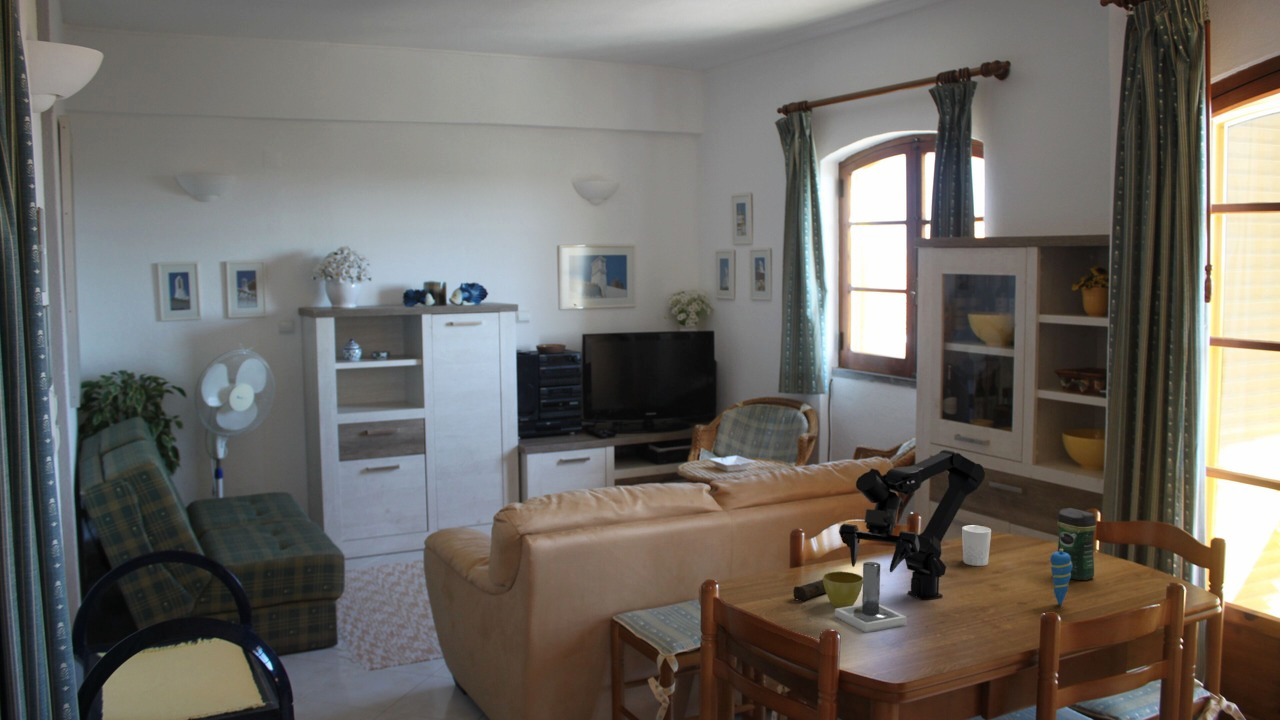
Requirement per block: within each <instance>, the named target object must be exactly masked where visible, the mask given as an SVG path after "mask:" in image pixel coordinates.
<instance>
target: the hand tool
mask: <svg viewBox="0 0 1280 720" xmlns="http://www.w3.org/2000/svg"><path fill="white" fill-rule="evenodd" d="M837 572H843V571H842V570H841V571H837ZM824 593H826V591H825V588H824V583H823V578H822V579H820V580H819V579H818V580H817V581H814V582H811V583H807V584H803V585H801V586H794V587H793V596H792V597H793V598H794V600H796V599H798V600H801V601H800V602H802V601H803V602H805V601H808V600H809V599H810V598H812V597H816V596H819V595H822V594H824ZM798 600H797V601H798Z"/></svg>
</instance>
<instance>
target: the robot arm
mask: <svg viewBox="0 0 1280 720" xmlns="http://www.w3.org/2000/svg"><path fill="white" fill-rule="evenodd" d="M944 472H947V473H948V475H947V484H948V485H947V486H948V487H947V488H946V490H945V492H944V494H943V496H942V498H941V499H940V501H939V503H938V504H937V507H936V509H935V510H934V512H933V514H932V516H931V517H930V519H929V521H928V523H927V524H926V527H924V530H923V531H922V532H921V533H919V534H917V533H916V532H912V531H905V530H900V531H899V533H898V535H894V534H893V532H894V528H896V524H897V523H896V521H897V516H898V512H899V508H904V507H906V506H905V503H904V500H903V499H902V497H901V496H899V495H898V494H901V495H905V496H910V495H912V494H914V493H915V492H916V491H918V490H919V489H920V488H921V486H922V483H924V482H925V481H927V480H929V479H931V478H933V477H936V476H937V475H938V476H939V475H940V474H942V473H944ZM985 475H986V472H985V470H984V467H983V466H982V464H980V463H976V462H974V461H972V460H970V459H968V458H967V457H965V456H963V455H962V454H960V453H959V451H953V450H948V449H943V450H941V451H940V452H939V453H937V454H934V455H932V456H931V457H928V458H926V459H924V460H921V461H918V462H917V463H915V464H912V465H910V466H899V467H894V468H890V469H889V470H887V472H886V473H885V474H882V473H881V472H880V470H879V469H875V468H870V470H869V471H867V472H864V473H863V474H861V476H859V477H858V478H857V480H856V483H855V486H856V489H857V491H859V492H860V494H862V495H863V496H864V497H865V498H866V499H867V501H869V502H870V503H871V504H874V508H873V509H868V508H867V509H865V514H864V521H863V523H865V527H866V529H867V530H868V531H861V530H860V529H859V527H858V524H852V523H851V524H849V523H842V524H841V525H840V527H839V530H838V533H839V534H838V535H839V536H840V539H841V541H842V543H843V544H845V545H846V546H847V547H848V548H849V549H850V551H849V552H850V560H851V561H850V562H851V566H852V567H853V568H854V567H855V565H856V563H857V559H858V554H859V552H860V551H859V550H860V546H859V544H860V542H861V540H863V541H871V542H872V541H873V542H877V543H878V542H879V543H885V544H894V545H895V549H894V552H893V556H892V559H891V562H890V565H889V572H890V573H893V572H894V570H896V569H897V567H898V566H899V565H900V563H901V562H903V561H904V560H905V565H906V569H907V570H910V571H912V575H911V576H912V577H911V578H910V590H908V591H907V593H908V594H909V595H911V596H914V597H916V598H918V599H920V600H923V601H926V600H927V601H928V600H931V599H938V598H944V595H943V594H942V593H940V592H939V591H940V590H939V589H940V588H939V587H940V585H939V584H940V578H941V577H942V576H945V574H946V570H947V566H946V565H945V563H944V562H943V561H942V560H941V559H940V558H941V556H942V540H943V539H944V537H945V535H946V533H948V530H949V528H950V526H951V524H952V523H953V521H954V518H955V517H956V515H957V514H958V511H959V509H960V508H961V506H962V504H963V502H965V499H966V497H967V496H969V495H971V494H972V493H974V492H975V491H976V490H978V488H979V487H980V485H981V484H982V482H983V481H984V479H985Z"/></svg>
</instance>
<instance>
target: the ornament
mask: <svg viewBox="0 0 1280 720" xmlns="http://www.w3.org/2000/svg"><path fill="white" fill-rule="evenodd" d="M1050 563H1051V567H1050V570H1051V574H1052V583H1053V586H1054V587H1053V592H1054V595H1055V598H1056V602H1057V605H1059V606H1062V605H1063V603H1064V601H1065V600H1064V599H1065V597H1066V596H1067V593H1068V590H1069V587H1070V586H1069V583H1070V580H1071V579H1072V578H1071V573H1070V572H1071V570H1072V567H1073V566H1072V562H1071V557H1070V555H1069V554H1068V553H1065V552H1063V548H1062V549H1059V552H1058V551H1054V552H1052V554H1051V556H1050Z"/></svg>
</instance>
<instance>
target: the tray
mask: <svg viewBox="0 0 1280 720" xmlns="http://www.w3.org/2000/svg"><path fill="white" fill-rule="evenodd" d="M857 608H862V603H861V604H854V605H853V606H848V607H842V608H839V607H836V608H834V618H836V617H837V618H836V619H838V618H839V619H838V620H840V619H841V620H840V621H843V622H844V623H846V624H848V625H850V626H851V627H854V628H855V629H858V630H859V631H861V632H863V633H865V634H867V633H872V632H877V631H883V630H887V629H892V628H898V627H905V626H907V616H905V615H903V614H901V613H899V612H897V611H895V610H892V609H890V608H888V607H886V606H884V605H881V604H880V603H879V609H881V610H884V611H886V612H887V614H888V617H887V619H883V620H878V621H872V622H867V623H866V622H864V621H862V620H860V619H858V618H856V617H855V616H853V615H854V610H855V609H857Z"/></svg>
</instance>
